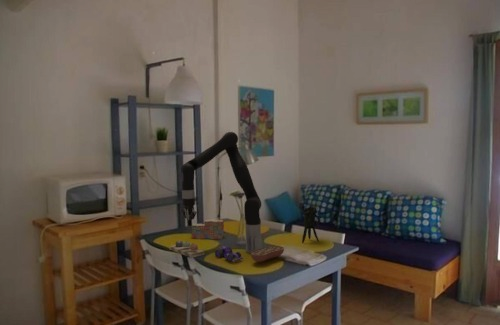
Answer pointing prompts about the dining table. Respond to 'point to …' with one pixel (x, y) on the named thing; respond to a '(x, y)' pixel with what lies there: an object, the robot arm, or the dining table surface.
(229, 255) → the toy race car
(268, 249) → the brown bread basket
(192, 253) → the button board
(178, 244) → the button
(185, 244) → the button
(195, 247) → the button
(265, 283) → the dining table surface
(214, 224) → the stack of blocks
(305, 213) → the black legged piece
